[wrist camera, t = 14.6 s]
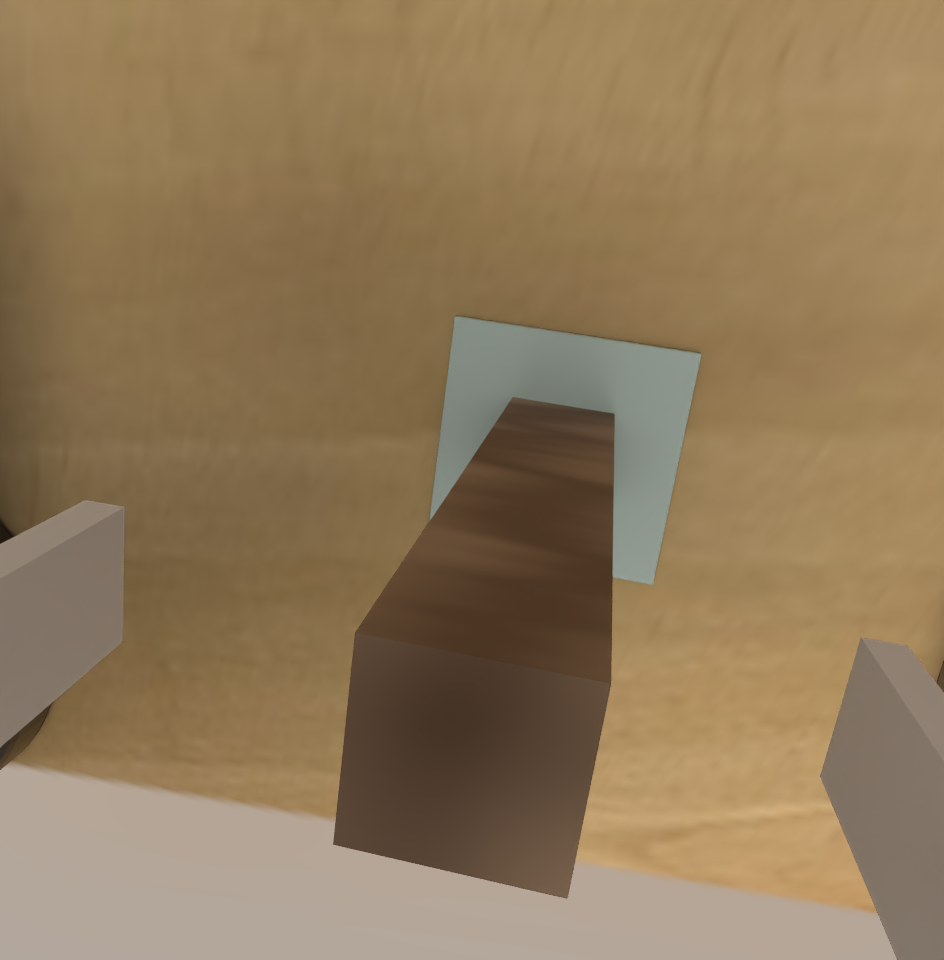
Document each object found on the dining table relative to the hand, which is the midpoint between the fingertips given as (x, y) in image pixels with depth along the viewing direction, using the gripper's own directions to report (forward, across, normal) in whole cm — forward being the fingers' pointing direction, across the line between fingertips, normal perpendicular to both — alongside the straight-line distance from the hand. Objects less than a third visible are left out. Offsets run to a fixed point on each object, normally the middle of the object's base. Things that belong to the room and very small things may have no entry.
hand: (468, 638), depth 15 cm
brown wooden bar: (+14, +1, 0) cm, 14 cm away
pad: (+15, +1, 0) cm, 15 cm away
